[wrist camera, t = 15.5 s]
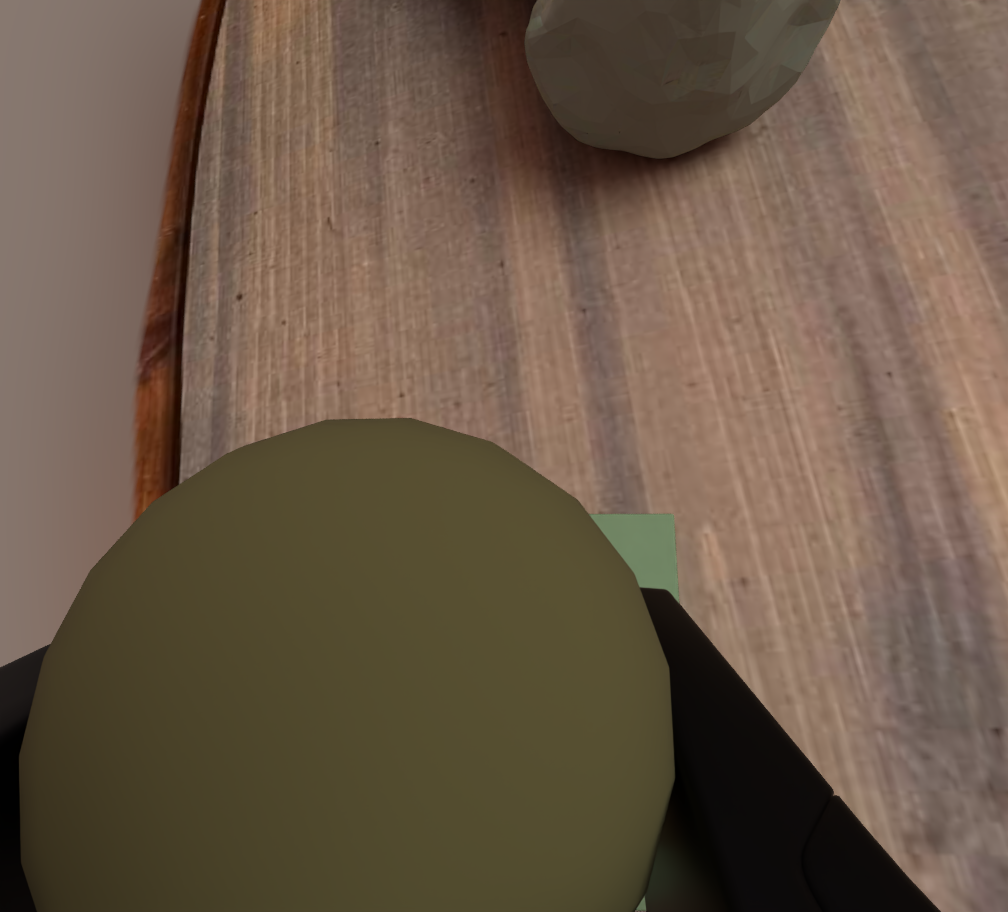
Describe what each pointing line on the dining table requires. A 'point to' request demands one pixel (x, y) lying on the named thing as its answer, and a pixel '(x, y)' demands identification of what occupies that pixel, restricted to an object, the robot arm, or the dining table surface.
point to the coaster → (644, 553)
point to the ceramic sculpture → (668, 66)
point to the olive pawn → (352, 694)
